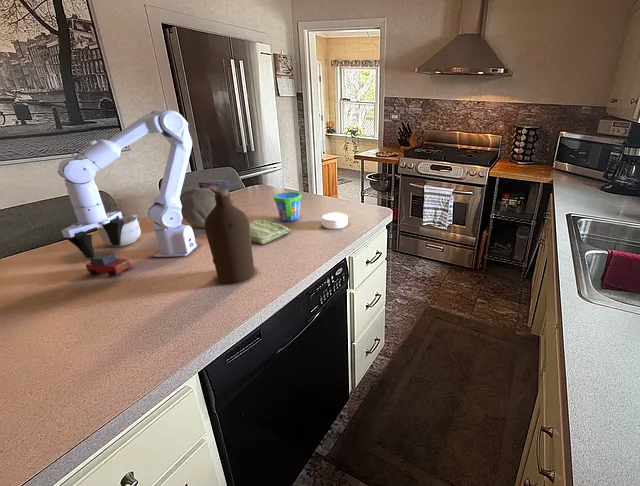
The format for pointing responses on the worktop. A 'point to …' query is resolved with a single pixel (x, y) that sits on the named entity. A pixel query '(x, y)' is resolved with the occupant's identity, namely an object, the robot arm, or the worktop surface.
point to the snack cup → (288, 205)
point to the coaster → (334, 220)
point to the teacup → (124, 231)
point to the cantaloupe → (197, 205)
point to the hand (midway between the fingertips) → (104, 251)
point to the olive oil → (229, 240)
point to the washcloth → (266, 231)
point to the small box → (214, 185)
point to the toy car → (107, 264)
